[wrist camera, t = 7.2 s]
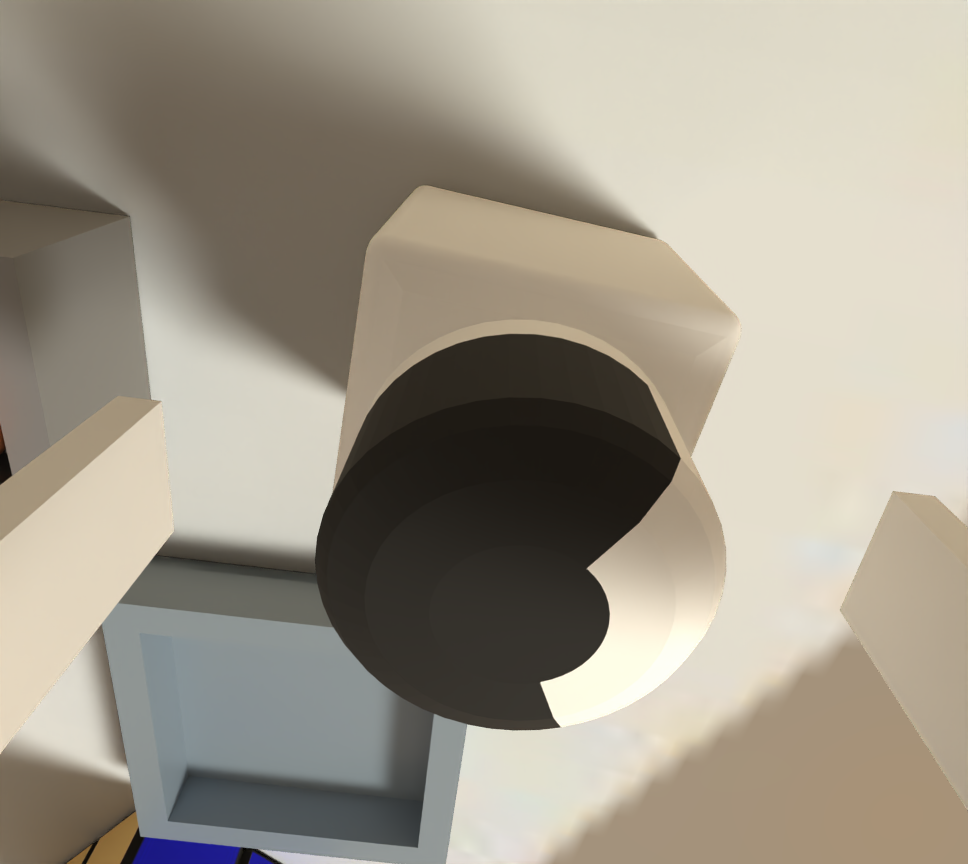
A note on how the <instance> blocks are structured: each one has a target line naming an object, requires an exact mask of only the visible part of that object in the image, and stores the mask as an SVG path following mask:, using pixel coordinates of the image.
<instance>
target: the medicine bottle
mask: <svg viewBox="0 0 968 864" xmlns="http://www.w3.org/2000/svg"><path fill="white" fill-rule="evenodd" d="M741 329H742V328H741V323H740V321H739V319H738V317H737V316H736V315H735V313H734V312H733V311H732V310H731V309H730V308H729V307H728V306H727V305H726V304H725V303H724V302H723V301H722V300H721V299H720V298H719V297H718V296H717V295H716V294H715V293H714V292H713V291H712V290H711V289H710V288H709V287H708V285H707V284H706V283H705V282H704V281H703V280H702V279H701V278H700V277H699V276H698V275H697V274H696V273H695V272H694V271H693V270H692V269H691V268H690V267H689V266H688V265H687V264H686V263H685V262H684V261H683V260H682V258H681V257H680V256H679V255H678V254H677V253H676V252H675V251H674V250H673V249H672V248H671V247H670V246H669V245H668V244H667V243H665V242H663V241H662V240H658V239H654V238H650V237H645V236H641V235H637V234H632V233H628V232H624V231H620V230H615V229H611V228H607V227H603V226H598V225H594V224H590V223H586V222H581V221H577V220H573V219H569V218H564V217H560V216H556V215H552V214H547V213H543V212H539V211H535V210H530V209H526V208H522V207H518V206H513V205H509V204H505V203H500V202H496V201H492V200H488V199H483V198H479V197H475V196H471V195H466V194H462V193H458V192H454V191H449V190H445V189H441V188H437V187H432V186H428V185H426V186H419V187H418V188H416V189H415V190H414V191H413V192H412V193H411V194H410V196H409V197H408V198H407V199H406V200H405V201H404V202H403V204H402V205H401V206H400V207H399V208H398V209H397V210H396V212H395V213H394V214H393V215H392V216H391V217H390V218H389V219H388V221H387V222H386V223H385V224H384V225H383V226H382V227H381V229H380V230H379V231H378V232H377V233H376V234H375V235H374V237H373V238H372V239H371V240H370V242H369V245H368V247H367V249H366V255H365V263H364V270H363V277H362V284H361V292H360V299H359V306H358V313H357V320H356V328H355V335H354V342H353V349H352V356H351V364H350V371H349V378H348V385H347V393H346V400H345V407H344V414H343V421H342V429H341V436H340V443H339V450H338V457H337V465H336V472H335V479H334V486H333V493H332V496H331V498H330V500H329V503H328V505H327V507H326V510H325V512H324V514H323V518H322V521H321V525H320V529H319V533H318V536H317V545H316V557H315V564H316V576H317V584H318V588H319V592H320V596H321V600H322V603H323V606H324V608H325V611H326V613H327V615H328V617H329V620H330V622H331V624H332V626H333V628H334V629H335V631H336V632H337V634H338V635H339V637H340V638H341V640H342V642H343V643H344V645H345V646H346V647H347V648H348V649H349V650H350V652H351V653H352V654H353V655H354V656H355V657H356V659H357V660H358V661H359V662H360V663H361V664H362V665H363V667H364V668H365V669H366V670H367V671H368V672H369V673H370V674H371V675H373V676H374V677H375V678H376V679H377V680H378V681H379V682H380V683H382V684H383V685H384V686H385V687H387V688H388V689H390V690H391V691H392V692H394V693H395V694H397V695H398V696H400V697H401V698H403V699H404V700H406V701H408V702H410V703H412V704H414V705H416V706H418V707H419V708H421V709H423V710H426V711H428V712H431V713H433V714H436V715H438V716H441V717H443V718H447V719H450V720H454V721H457V722H461V723H464V724H468V725H474V726H479V727H485V728H491V729H504V730H541V729H550V728H559V727H565V726H569V725H574V724H579V723H583V722H587V721H590V720H593V719H596V718H599V717H602V716H605V715H608V714H610V713H612V712H615V711H617V710H619V709H621V708H624V707H626V706H628V705H630V704H631V703H633V702H635V701H637V700H638V699H640V698H642V697H643V696H645V695H647V694H648V693H650V692H651V691H652V690H653V689H655V688H656V687H657V686H659V685H660V684H661V683H663V682H664V681H665V680H666V679H667V678H668V677H669V676H670V675H671V674H672V673H673V672H674V671H675V670H676V669H677V668H678V667H679V666H680V665H681V664H682V663H683V662H684V661H685V660H686V659H687V657H688V656H689V655H690V654H691V652H692V651H693V650H694V649H695V647H696V646H697V645H698V643H699V642H700V641H701V639H702V638H703V637H704V635H705V633H706V631H707V629H708V628H709V626H710V624H711V622H712V620H713V618H714V617H715V614H716V611H717V608H718V605H719V603H720V600H721V597H722V594H723V588H724V582H725V576H726V546H725V541H724V536H723V531H722V526H721V523H720V520H719V517H718V515H717V512H716V510H715V507H714V505H713V502H712V500H711V498H710V496H709V494H708V492H707V489H706V487H705V485H704V483H703V481H702V479H701V477H700V475H699V473H698V471H697V469H696V467H695V464H694V462H693V460H692V458H691V456H692V453H693V451H694V448H695V446H696V443H697V441H698V439H699V436H700V434H701V431H702V429H703V426H704V424H705V422H706V419H707V417H708V414H709V412H710V410H711V407H712V405H713V402H714V400H715V397H716V395H717V393H718V390H719V388H720V385H721V383H722V380H723V378H724V376H725V373H726V371H727V368H728V366H729V364H730V361H731V359H732V356H733V354H734V351H735V349H736V347H737V344H738V342H739V339H740V336H741Z"/></svg>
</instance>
